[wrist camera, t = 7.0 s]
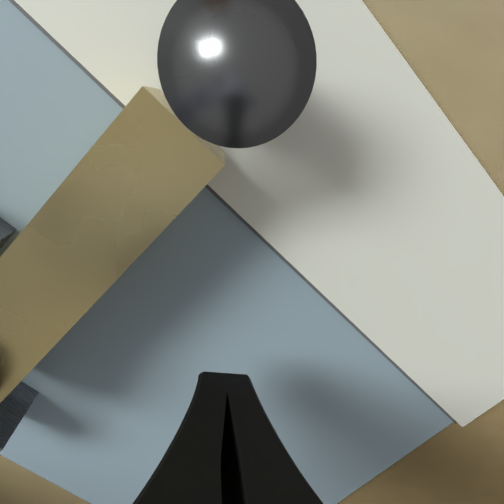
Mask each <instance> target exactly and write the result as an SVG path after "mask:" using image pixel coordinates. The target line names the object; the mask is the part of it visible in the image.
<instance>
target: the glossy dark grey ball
mask: <svg viewBox="0 0 504 504" xmlns="http://www.w3.org/2000/svg"><path fill="white" fill-rule="evenodd" d="M157 67H158V74H159V79H160V83H161V87H162V90H163V93H164V95H165V98H166V100H167V102H168V104H169V106H170V107H171V109H172V111H173V112H174V113H175V115H176V116H177V118H178V119H179V120H180V121H181V122H182V123H183V124H184V125H185V126H186V127H187V128H188V129H189V130H190V131H191V132H193V133H194V134H196V135H197V136H199V137H200V138H202V139H204V140H206V141H208V142H210V143H213V144H215V145H218V146H223V147H228V148H249V147H254V146H258V145H261V144H264V143H267V142H269V141H271V140H273V139H275V138H276V137H278V136H279V135H281V134H282V133H284V132H285V131H286V130H287V129H288V128H289V127H290V126H292V124H293V123H294V122H295V121H296V120H297V119H298V117H299V116H300V114H301V113H302V111H303V110H304V108H305V106H306V104H307V102H308V100H309V98H310V95H311V92H312V90H313V86H314V82H315V76H316V68H317V55H316V47H315V41H314V37H313V33H312V30H311V28H310V25H309V22H308V20H307V18H306V16H305V14H304V12H303V11H302V9H301V8H300V6H299V5H298V4H297V2H296V1H295V0H177V1H176V2H175V3H174V5H173V6H172V8H171V9H170V11H169V13H168V15H167V17H166V19H165V21H164V24H163V26H162V29H161V33H160V37H159V41H158V50H157Z"/></svg>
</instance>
